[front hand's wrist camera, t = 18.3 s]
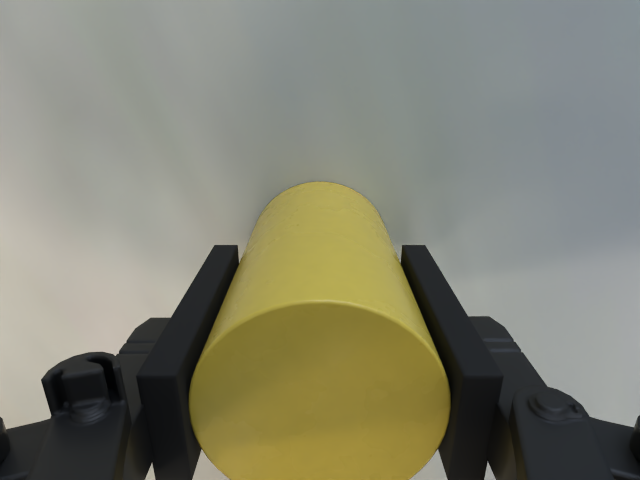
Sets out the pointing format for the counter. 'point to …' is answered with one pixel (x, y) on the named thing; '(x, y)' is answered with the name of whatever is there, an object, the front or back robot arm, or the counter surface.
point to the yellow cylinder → (319, 352)
